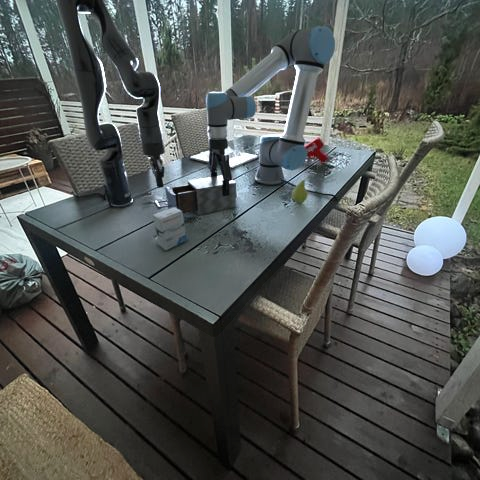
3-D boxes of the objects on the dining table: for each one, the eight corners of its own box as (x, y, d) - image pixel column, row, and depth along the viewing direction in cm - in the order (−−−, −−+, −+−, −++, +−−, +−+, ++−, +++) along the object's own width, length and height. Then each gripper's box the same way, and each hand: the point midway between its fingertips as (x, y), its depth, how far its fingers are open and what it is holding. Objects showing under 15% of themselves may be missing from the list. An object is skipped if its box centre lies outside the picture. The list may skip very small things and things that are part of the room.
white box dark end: (198, 215, 111) (196, 189, 105) (189, 205, 119) (187, 180, 113) (235, 207, 118) (236, 182, 112) (224, 198, 126) (224, 174, 120)
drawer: (160, 220, 104) (156, 197, 99) (154, 210, 111) (150, 189, 106) (212, 209, 113) (211, 188, 108) (203, 200, 120) (202, 180, 116)
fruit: (288, 200, 123) (290, 174, 116) (302, 197, 125) (305, 172, 119) (296, 206, 118) (299, 179, 111) (310, 203, 120) (314, 177, 114)
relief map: (232, 168, 162) (231, 159, 159) (190, 158, 179) (189, 150, 177) (257, 157, 180) (257, 149, 177) (217, 149, 198) (217, 142, 195)
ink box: (179, 235, 98) (174, 206, 91) (187, 241, 95) (183, 210, 88) (158, 245, 93) (151, 214, 86) (165, 250, 90) (159, 219, 83)
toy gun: (331, 157, 168) (319, 136, 164) (331, 159, 164) (318, 137, 160) (306, 172, 178) (294, 153, 174) (305, 174, 174) (292, 154, 170)
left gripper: (137, 137, 97) (146, 183, 106) (145, 145, 87) (154, 195, 97) (158, 134, 100) (165, 179, 109) (168, 142, 90) (175, 191, 100)
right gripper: (197, 133, 112) (201, 183, 124) (222, 145, 95) (224, 202, 106) (214, 131, 115) (216, 181, 127) (241, 142, 98) (240, 198, 109)
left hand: (160, 186), depth 103 cm, fingers closed
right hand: (220, 190), depth 117 cm, fingers closed on white box dark end, 11 cm apart
